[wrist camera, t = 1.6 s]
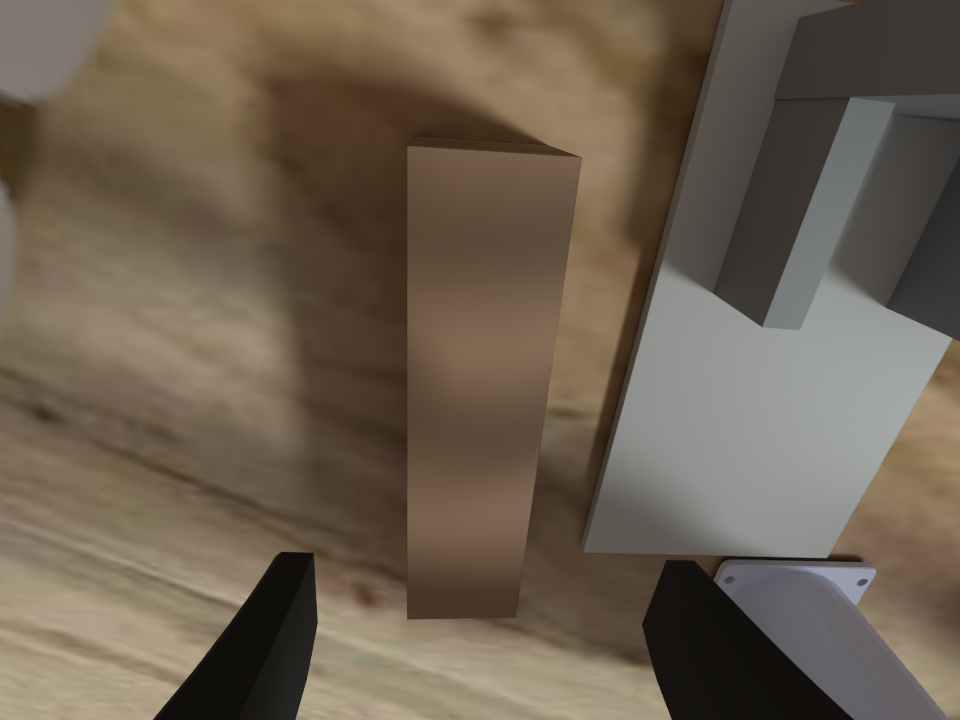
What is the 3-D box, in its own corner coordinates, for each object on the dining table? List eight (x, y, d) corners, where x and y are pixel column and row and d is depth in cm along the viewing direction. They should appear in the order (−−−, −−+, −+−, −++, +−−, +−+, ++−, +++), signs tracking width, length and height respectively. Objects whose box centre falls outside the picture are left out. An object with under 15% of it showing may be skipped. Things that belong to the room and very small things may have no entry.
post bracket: (819, 549, 24) (937, 687, 19) (580, 544, 23) (627, 690, 17) (1101, 45, 15) (1511, 7, 9) (727, -11, 14) (934, -98, 8)
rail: (502, 527, 23) (515, 617, 19) (413, 527, 22) (407, 619, 18) (545, 144, 16) (581, 157, 12) (416, 136, 15) (407, 146, 11)
